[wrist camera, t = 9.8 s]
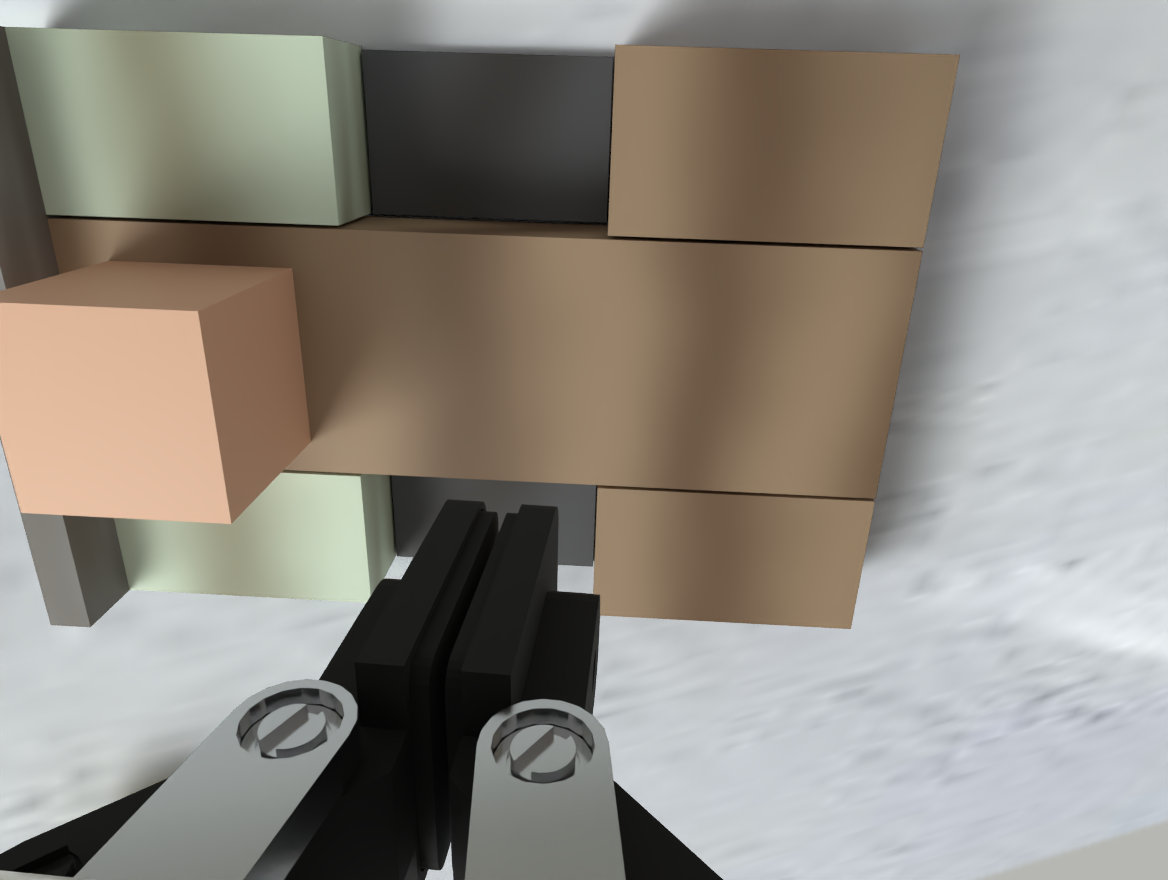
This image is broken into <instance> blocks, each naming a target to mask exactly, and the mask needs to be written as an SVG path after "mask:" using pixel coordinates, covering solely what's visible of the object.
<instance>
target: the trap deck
mask: <svg viewBox="0 0 1168 880" xmlns="http://www.w3.org/2000/svg"><path fill="white" fill-rule="evenodd" d="M959 58H960V55H949V54H915V53H881V52H847V51H812V50H778V49H744V48H710V47H675V46H641V45H615V69H614V94H613V118H612V143H611V168H610V193H609V217H608V225H601V224H574V223H547V222H520V221H493V220H466V219H439V218H413V217H386V216H365V215H368V214H370V213H373V214H391V215H418V216H445V217H472V218H499V219H526V220H553V221H580V222H607V199H608V173H609V148H610V123H611V98H612V73H613V57H589V56H555V55H522V54H488V53H454V52H421V51H387V50H362V48H361V46H358V45H354V44H350V43H346V42H343V41H339V40H335V39H331V38H327V37H324V36H299V35H264V34H230V33H196V32H162V31H127V30H93V29H59V28H25V27H2V26H0V291H2V290H6V289H9V288H13V287H16V286H20V285H23V284H27V283H31V282H34V281H38V280H41V279H45V278H48V277H52V276H56V275H59V274H63V273H66V272H70V271H74V270H77V269H81V268H84V267H88V266H91V265H95V264H99V263H102V262H106V261H127V262H151V263H175V264H200V265H224V266H248V267H272V268H292V271H293V281H294V290H295V299H296V308H297V317H298V327H299V336H300V345H301V354H302V364H303V373H304V382H305V391H306V400H307V410H308V419H309V428H310V437H311V442H310V443H309V444H308V445H307V446H306V447H305V448H304V449H303V451H302V452H301V453H300V454H299V455H298V456H297V457H296V458H295V459H294V460H293V461H292V462H291V463H290V464H289V465H288V466H287V467H286V468H285V469H284V470H283V471H282V472H281V473H280V474H279V475H278V476H277V477H276V478H275V479H274V480H273V481H272V483H271V484H270V485H269V486H268V487H267V488H266V489H265V490H264V491H263V492H262V493H261V494H260V495H259V496H258V497H257V498H256V499H255V500H254V501H253V502H252V503H251V504H250V505H249V506H248V507H247V508H246V509H245V510H244V511H243V512H242V513H241V514H240V516H239V517H238V518H237V519H236V520H235V521H234V522H233V523H232V524H221V523H202V522H183V521H164V520H146V519H127V518H108V517H89V516H70V515H51V514H32V513H21V510H20V507H19V510H20V513H21V517H22V521H23V524H24V528H25V532H26V535H27V539H28V543H29V546H30V550H31V554H32V557H33V561H34V565H35V569H36V572H37V576H38V580H39V583H40V587H41V591H42V594H43V598H44V602H45V605H46V609H47V613H48V616H49V620H50V624H51V625H61V626H79V627H91V626H92V625H93V624H94V623H95V622H96V621H97V620H98V619H99V618H101V617H102V616H103V615H104V614H105V613H106V612H107V611H108V610H109V609H110V608H111V607H112V606H113V605H114V604H115V603H116V602H117V601H118V600H119V599H120V598H122V597H123V596H124V595H125V594H126V593H127V592H128V591H129V590H145V591H163V592H181V593H200V594H218V595H236V596H255V597H273V598H292V599H310V600H328V601H347V602H365V603H367V601H368V599H369V598H370V596H371V594H372V593H373V591H374V590H375V588H376V586H377V585H378V584H379V582H380V581H381V580H383V579H384V577H385V576H386V574H387V572H388V570H389V568H390V566H391V564H392V562H393V560H394V558H395V557H396V555H397V556H403V557H414V556H415V554H416V553H417V551H418V549H419V547H420V546H421V544H422V542H423V540H424V539H425V537H426V535H427V533H428V532H429V530H430V528H431V526H432V525H433V523H434V521H435V519H436V518H437V516H438V514H439V512H440V511H441V509H442V507H443V505H444V504H445V502H446V501H447V500H448V499H451V500H466V501H481V502H484V503H485V505H486V511H491V512H497V514H498V522H499V531H500V528H501V526H502V523H503V521H504V518H505V516H506V514H507V513H518V512H519V509H520V506H521V505H522V504H526V505H540V506H555V507H558V514H559V524H558V565H575V566H593V552H594V527H595V502H596V485H598V489H597V514H596V539H595V564H594V588H593V594H599V595H600V615H604V616H622V617H641V618H659V619H677V620H696V621H714V622H733V623H751V624H769V625H788V626H806V627H824V628H843V629H851V625H852V619H853V614H854V609H855V604H856V598H857V593H858V588H859V583H860V577H861V572H862V567H863V562H864V556H865V551H866V546H867V541H868V535H869V530H870V525H871V520H872V514H873V509H874V504H875V501H874V500H873V499H876V493H877V488H878V483H879V478H880V472H881V467H882V462H883V457H884V451H885V446H886V441H887V436H888V430H889V425H890V420H891V415H892V409H893V404H894V399H895V394H896V388H897V383H898V378H899V373H900V367H901V362H902V357H903V352H904V346H905V341H906V336H907V331H908V325H909V320H910V315H911V310H912V304H913V299H914V294H915V289H916V283H917V278H918V273H919V268H920V262H921V257H922V251H920V250H918V249H916V248H914V247H921V248H923V247H924V241H925V236H926V231H927V226H928V220H929V215H930V210H931V205H932V199H933V194H934V189H935V184H936V178H937V173H938V168H939V163H940V157H941V152H942V147H943V142H944V136H945V131H946V126H947V121H948V115H949V110H950V105H951V100H952V94H953V89H954V84H955V79H956V73H957V68H958V63H959ZM362 59H363V62H362ZM363 73H364V77H363ZM364 87H365V91H364ZM365 102H366V106H365ZM366 116H367V120H366ZM367 131H368V134H367ZM368 145H369V149H368ZM369 159H370V163H369ZM370 174H371V177H370ZM371 188H372V192H371ZM372 202H373V206H372ZM0 440H1V436H0ZM1 444H2V440H1ZM2 447H3V444H2ZM3 451H4V448H3ZM4 455H5V451H4ZM5 458H6V455H5ZM6 462H7V459H6ZM7 466H8V462H7ZM8 469H9V466H8ZM9 473H10V470H9ZM391 476H392V479H391ZM10 477H11V473H10ZM11 480H12V477H11ZM12 484H13V481H12ZM13 488H14V485H13ZM392 490H393V493H392ZM14 491H15V488H14ZM15 495H16V492H15ZM16 499H17V496H16ZM17 502H18V499H17ZM393 504H394V508H393ZM18 506H19V503H18ZM394 519H395V522H394ZM395 533H396V536H395ZM396 548H397V551H396Z"/></svg>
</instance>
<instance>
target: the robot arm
mask: <svg viewBox="0 0 1168 880" xmlns="http://www.w3.org/2000/svg"><path fill="white" fill-rule="evenodd" d="M558 524H559V514H558V507H555V506H540V505H526V504H522V505H521V506H520V509H519V512H518V513H507V514H506V516H505V518H504V521H503V523H502V526H501V528H500V531H499V522H498V514H497V512H491V511H486V505H485V503H484V502H481V501H466V500H451V499H448V500H447V501H446V502H445V504H444V505H443V507H442V509H441V511H440V512H439V514H438V516H437V518H436V519H435V521H434V523H433V525H432V526H431V528H430V530H429V532H428V533H427V535H426V537H425V539H424V540H423V542H422V544H421V546H420V547H419V549H418V551H417V553H416V554H415V556H414V558H413V560H412V561H411V563H410V565H409V567H408V569H407V570H406V572H405V574H404V576H403V577H402V579H401V580H399V579H383V580H381V581H380V582H379V584H378V585H377V586H376V588H375V590H374V591H373V593H372V594H371V596H370V598H369V599H368V601H367V603H366V604H365V606H364V608H363V609H362V611H361V612H360V614H359V616H358V617H357V619H356V621H355V622H354V624H353V625H352V627H351V629H350V630H349V632H348V634H347V635H346V637H345V638H344V640H343V642H342V643H341V645H340V647H339V648H338V650H337V651H336V653H335V655H334V656H333V658H332V660H331V661H330V663H329V664H328V666H327V668H326V669H325V671H324V673H323V674H322V676H321V677H320V679H319V680H311V679H305V680H297V681H288V682H285V683H281V684H278V685H275V686H272V687H268V688H266V689H264V690H262V691H260V692H258V693H256V694H255V695H253V696H251V697H249V698H248V699H247V700H245V701H244V702H243V703H242V704H240V705H239V706H238V707H237V708H236V709H234V710H233V711H232V713H231V714H230V715H229V716H228V717H227V718H226V719H225V720H224V721H223V722H222V723H221V724H220V725H219V726H218V727H217V728H216V729H215V730H214V731H213V732H212V733H211V734H210V735H209V736H208V738H207V739H206V740H205V741H204V742H203V743H202V744H201V745H200V746H199V747H198V748H197V749H196V750H195V751H194V752H193V753H192V754H191V755H190V756H189V757H188V758H187V759H186V760H185V762H184V763H183V764H182V765H181V766H180V767H179V768H178V769H177V770H176V771H175V772H174V773H173V774H172V775H171V776H170V777H169V778H168V779H165V780H163V781H161V782H159V783H156V784H154V785H152V786H149V787H147V788H145V789H143V790H140V791H138V792H136V793H134V794H131V795H129V796H127V797H124V798H122V799H120V800H118V801H115V802H113V803H111V804H108V805H106V806H104V807H102V808H99V809H97V810H95V811H92V812H90V813H88V814H86V815H83V816H81V817H79V818H77V819H74V820H72V821H70V822H67V823H65V824H63V825H61V826H58V827H56V828H54V829H51V830H49V831H47V832H45V833H42V834H40V835H38V836H35V837H33V838H31V839H29V840H26V841H24V842H22V843H20V844H18V845H17V846H15V847H13V848H11V849H9V850H7V851H5V852H3V853H2V854H0V880H425V878H426V875H427V871H428V869H432V870H441V869H442V867H443V866H444V863H445V860H446V856H447V853H448V849H449V846H450V843H451V849H452V868H453V878H454V880H723V879H722V878H721V877H719V876H718V875H717V874H716V873H715V872H714V871H713V870H712V869H711V868H710V867H708V866H707V865H706V864H705V863H704V862H703V861H702V860H701V859H700V858H698V857H697V856H696V855H695V854H694V853H693V852H692V851H691V850H690V849H689V848H687V847H686V846H685V845H684V844H683V843H682V842H681V841H680V840H679V839H678V838H676V837H675V836H674V835H673V834H672V833H671V832H670V831H669V830H668V829H667V828H665V827H664V826H663V825H662V824H661V823H660V822H659V821H658V820H657V819H656V818H654V817H653V816H652V815H651V814H650V813H649V812H648V811H647V810H646V809H644V808H643V807H642V806H641V805H640V804H639V803H638V802H637V801H636V800H635V799H633V798H632V797H631V796H630V795H629V794H628V793H627V792H626V791H625V790H624V789H622V788H621V787H620V786H619V785H618V784H617V783H616V782H615V781H614V780H613V773H612V765H611V757H610V749H609V742H608V739H607V736H606V733H605V730H604V728H603V726H602V725H601V724H600V723H599V722H598V720H597V719H596V718H595V717H594V716H593V706H594V697H595V687H596V675H597V662H598V645H599V624H600V595H599V594H586V593H573V592H559V591H557V572H558Z"/></svg>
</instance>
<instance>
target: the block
mask: <svg viewBox="0 0 1168 880" xmlns="http://www.w3.org/2000/svg"><path fill="white" fill-rule="evenodd" d="M0 436H1V440H2V444H3V448H4V451H5V455H6V459H7V462H8V466H9V470H10V473H11V477H12V481H13V485H14V488H15V492H16V496H17V499H18V503H19V507H20V510H21V513H32V514H51V515H70V516H89V517H108V518H127V519H146V520H164V521H183V522H202V523H221V524H232V523H233V522H234V521H235V520H236V519H237V518H238V517H239V516H240V514H241V513H242V512H243V511H244V510H245V509H246V508H247V507H248V506H249V505H250V504H251V503H252V502H253V501H254V500H255V499H256V498H257V497H258V496H259V495H260V494H261V493H262V492H263V491H264V490H265V489H266V488H267V487H268V486H269V485H270V484H271V483H272V481H273V480H274V479H275V478H276V477H277V476H278V475H279V474H280V473H281V472H282V471H283V470H284V469H285V468H286V467H287V466H288V465H289V464H290V463H291V462H292V461H293V460H294V459H295V458H296V457H297V456H298V455H299V454H300V453H301V452H302V451H303V449H304V448H305V447H306V446H307V445H308V444H309V443H310V442H311V437H310V428H309V419H308V410H307V400H306V391H305V382H304V373H303V364H302V354H301V345H300V336H299V327H298V317H297V308H296V299H295V290H294V281H293V271H292V268H272V267H248V266H224V265H200V264H175V263H151V262H127V261H106V262H102V263H99V264H95V265H91V266H88V267H84V268H81V269H77V270H74V271H70V272H66V273H63V274H59V275H56V276H52V277H48V278H45V279H41V280H38V281H34V282H31V283H27V284H23V285H20V286H16V287H13V288H9V289H6V290H2V291H0Z"/></svg>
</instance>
